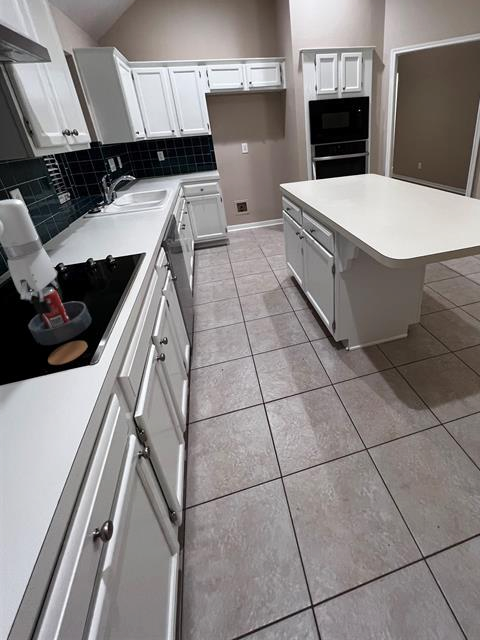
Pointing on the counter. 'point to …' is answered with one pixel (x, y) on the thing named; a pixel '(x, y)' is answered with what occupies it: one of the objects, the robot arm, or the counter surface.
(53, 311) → the soda can
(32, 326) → the bowl
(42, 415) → the counter surface
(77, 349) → the coaster
